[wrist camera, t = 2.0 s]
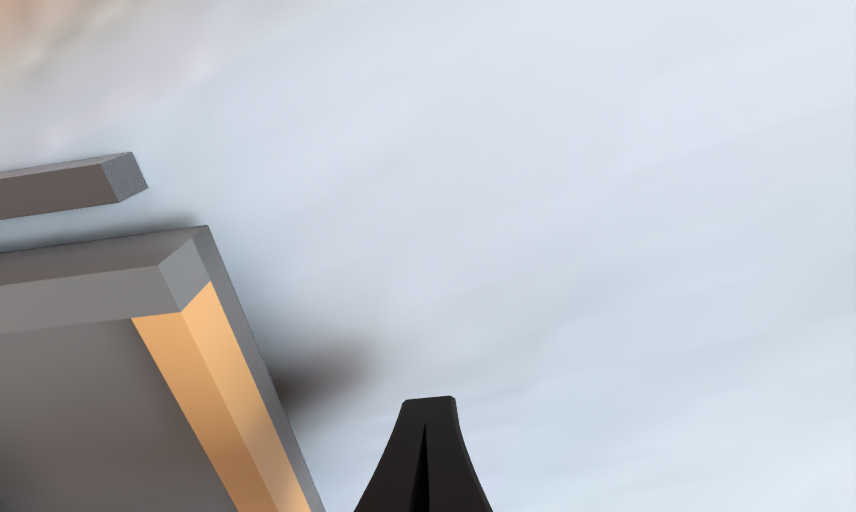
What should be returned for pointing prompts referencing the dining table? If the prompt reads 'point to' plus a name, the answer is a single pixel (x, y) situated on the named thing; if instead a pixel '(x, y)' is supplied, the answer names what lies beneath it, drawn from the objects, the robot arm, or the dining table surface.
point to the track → (69, 185)
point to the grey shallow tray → (138, 384)
